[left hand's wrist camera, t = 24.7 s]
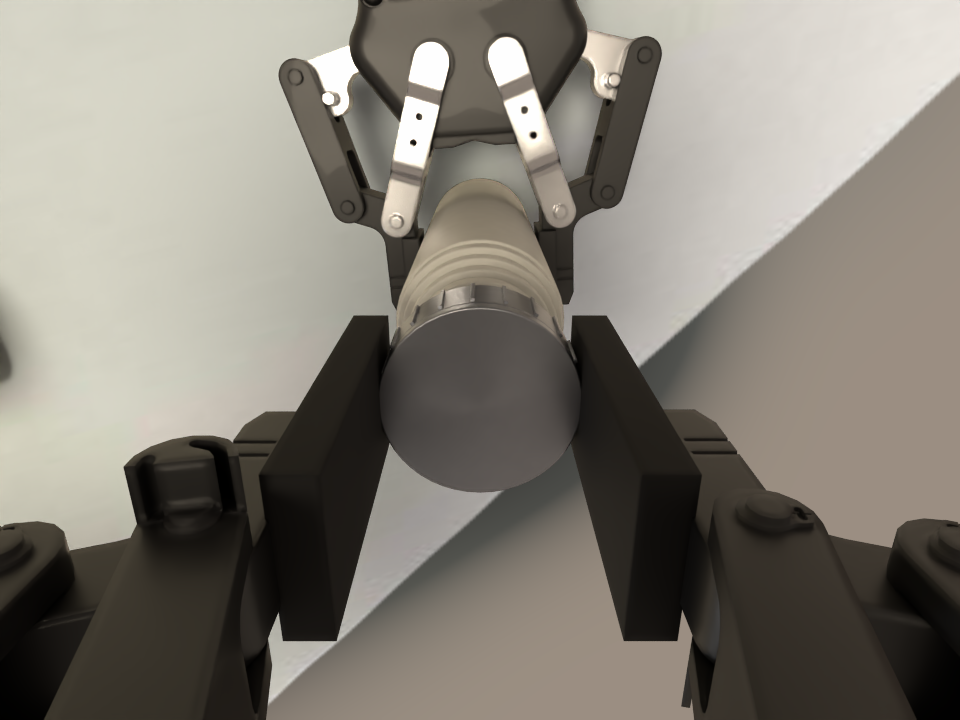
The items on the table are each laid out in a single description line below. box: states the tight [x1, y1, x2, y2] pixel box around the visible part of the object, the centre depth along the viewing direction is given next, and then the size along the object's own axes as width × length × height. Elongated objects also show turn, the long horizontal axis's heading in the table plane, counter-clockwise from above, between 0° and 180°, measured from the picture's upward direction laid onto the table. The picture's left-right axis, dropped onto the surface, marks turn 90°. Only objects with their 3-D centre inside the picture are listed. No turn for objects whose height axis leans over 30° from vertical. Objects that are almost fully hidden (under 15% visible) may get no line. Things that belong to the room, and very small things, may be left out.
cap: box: [379, 283, 581, 492], centre depth 14 cm, size 4×4×2 cm
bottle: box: [396, 179, 564, 331], centre depth 23 cm, size 5×5×20 cm
